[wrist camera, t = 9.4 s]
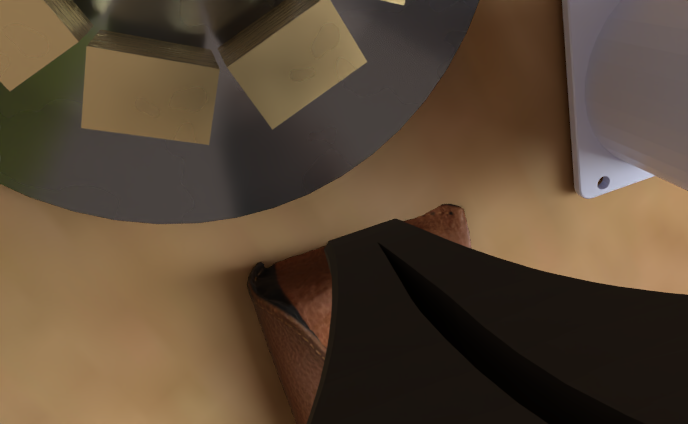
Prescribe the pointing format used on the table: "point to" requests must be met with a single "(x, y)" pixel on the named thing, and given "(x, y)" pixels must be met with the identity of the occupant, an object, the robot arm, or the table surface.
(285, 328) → the sunglasses case
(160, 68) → the gear with bar handle
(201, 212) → the grey round disc
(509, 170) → the table surface
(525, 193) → the table surface
